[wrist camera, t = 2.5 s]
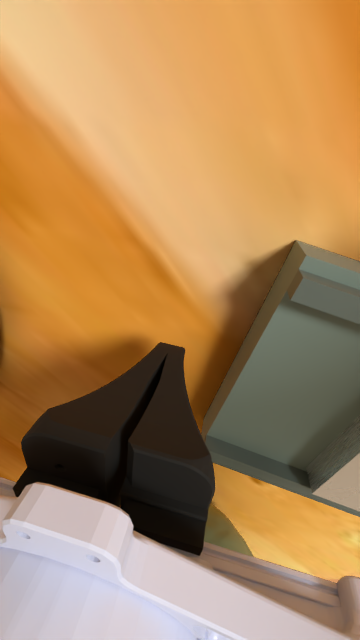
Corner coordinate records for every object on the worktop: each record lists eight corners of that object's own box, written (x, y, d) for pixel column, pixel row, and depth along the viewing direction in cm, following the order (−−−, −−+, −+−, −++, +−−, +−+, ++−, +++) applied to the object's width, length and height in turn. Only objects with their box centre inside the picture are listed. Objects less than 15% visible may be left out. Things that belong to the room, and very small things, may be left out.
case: (589, 339, 12) (700, 395, 9) (383, 484, 20) (407, 540, 17) (295, 240, 13) (311, 263, 10) (203, 418, 20) (196, 462, 17)
